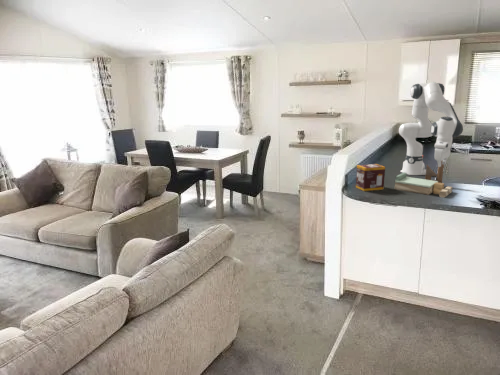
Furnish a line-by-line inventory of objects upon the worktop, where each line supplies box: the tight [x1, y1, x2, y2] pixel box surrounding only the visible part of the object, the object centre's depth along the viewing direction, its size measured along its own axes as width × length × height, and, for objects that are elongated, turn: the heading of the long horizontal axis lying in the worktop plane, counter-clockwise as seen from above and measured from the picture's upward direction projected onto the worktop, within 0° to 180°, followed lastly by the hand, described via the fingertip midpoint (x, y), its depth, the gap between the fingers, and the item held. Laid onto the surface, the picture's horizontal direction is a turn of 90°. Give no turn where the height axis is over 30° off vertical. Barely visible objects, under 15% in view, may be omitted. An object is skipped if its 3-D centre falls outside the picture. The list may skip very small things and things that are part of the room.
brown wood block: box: [432, 182, 445, 195], centre depth 250 cm, size 4×5×6 cm
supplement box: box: [355, 163, 386, 192], centre depth 262 cm, size 10×15×16 cm
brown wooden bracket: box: [424, 160, 445, 183], centre depth 266 cm, size 4×11×18 cm, turn 64°
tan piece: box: [394, 182, 453, 199], centre depth 256 cm, size 16×31×4 cm, turn 49°
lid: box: [394, 172, 438, 188], centre depth 258 cm, size 16×22×4 cm
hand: (441, 165), depth 246 cm, fingers open, 8 cm apart
